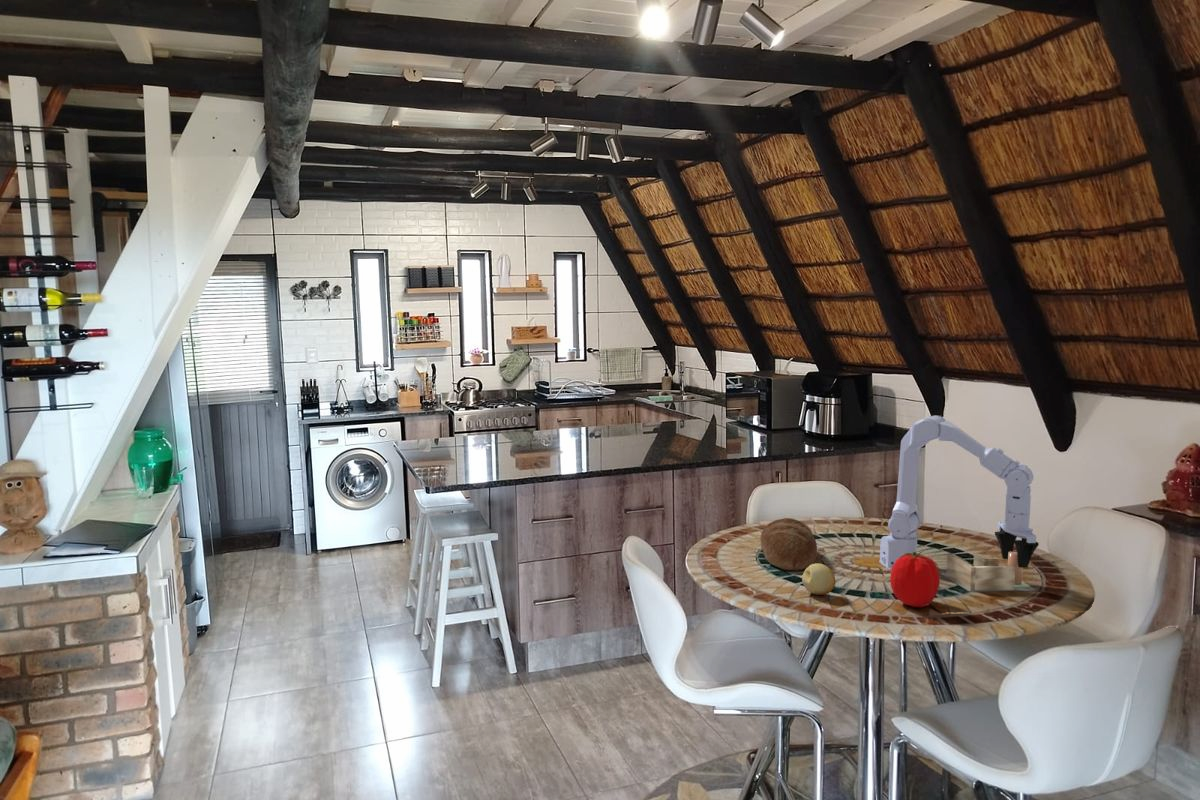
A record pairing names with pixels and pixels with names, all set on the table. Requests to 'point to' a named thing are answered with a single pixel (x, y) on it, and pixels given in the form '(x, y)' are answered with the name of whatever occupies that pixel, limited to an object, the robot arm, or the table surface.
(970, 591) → the board
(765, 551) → the bread
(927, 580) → the tomato
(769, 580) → the table surface
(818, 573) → the fruit
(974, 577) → the tan piece
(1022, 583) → the pad
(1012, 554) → the peg
